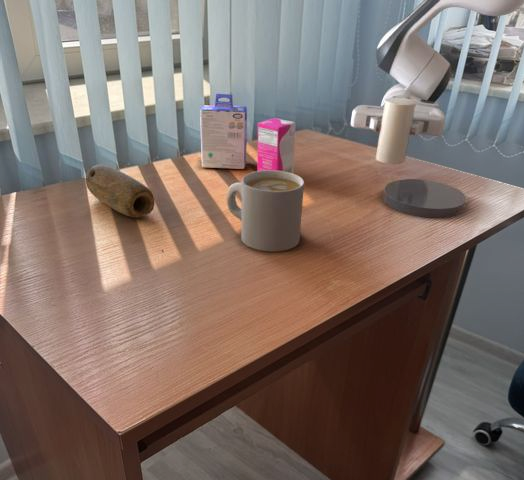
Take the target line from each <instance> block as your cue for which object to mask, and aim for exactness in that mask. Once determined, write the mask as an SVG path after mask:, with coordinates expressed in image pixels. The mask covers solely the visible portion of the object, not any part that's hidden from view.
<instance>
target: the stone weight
mask: <svg viewBox="0 0 524 480" xmlns="http://www.w3.org/2000/svg"><path fill="white" fill-rule="evenodd" d="M85 185H86V188H87V189H88V191H89V192H90V193H91V194H92V195H93V197H95V199H97V200H98V201H100V202H102V203H103V204H104V205H106V206H108V207H109V208H111V209H113V210H114V211H116V212H118V213H120V214H121V215H124V216H127V217H130V218H140V217H144V216H147V215H149V214H150V213H152V211H153V210H154V207H155V197H154V194H153V192H152V191H151V189H150V188H149V187H148V186H147V185H145V184H143V183H142V182H141V181H139V180H137V179H136V178H134V177H132V176H130V175H128V174H126V173H124V172H123V171H121V170H119V169H116V168H114V167H113V166H110V165H106V164H95V165H93V166H91V167H90V168H89V169H88V171H87V173H86V175H85Z"/></svg>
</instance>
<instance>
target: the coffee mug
mask: <svg viewBox="0 0 524 480" xmlns="http://www.w3.org/2000/svg"><path fill="white" fill-rule="evenodd" d="M304 190H305V181H304V179H303V178H302V177H301V176H300V175H297V174H295V173H294V172H293V173H289V172H285V171H277V170H263V171H257V170H256V171H251V172H249V173H247V174H244V175H243V177H242V179H241V182H234V183H232V184H231V185H230V186H229V187H228V189H227V193H226V205H227V209H228V211H229V212H230V213H231V214H232V215H233V216H234V217H236V218H237V219H239V220H240V222H241V226H240V227H241V229H240V231H241V233H240V235H241V236H240V237H241V241H242V242H243V244H245V245H246V246H247V247H249V248H251V249H253V250H257V251H260V252H261V251H262V252H283V251H287V250H291V249H293V248H295V247H296V246H297V245H298V244H299V243H300V239H301V237H300V236H301V225H302V215H303V214H302V213H303V204H304V203H303V201H304ZM237 193H238V194H240V196H241V207H239V206H238V204H237V200H236V199H237V197H236V195H237Z"/></svg>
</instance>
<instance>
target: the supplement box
mask: <svg viewBox="0 0 524 480" xmlns="http://www.w3.org/2000/svg"><path fill="white" fill-rule="evenodd" d="M295 139H296V122H295V121H291V120H285V119H281V118H277V117H273V118H270V119H266V120H262V121H260V122H258V123H257V157H256V158H257V160H256V161H257V165H256V166H257V167H256V168H257V170H256V171H263V170H277V171H285V172H289V173H293V174H294V166H295V165H294V164H295V163H294V161H295V159H294V158H295V144H296V143H295V142H296V140H295Z"/></svg>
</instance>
